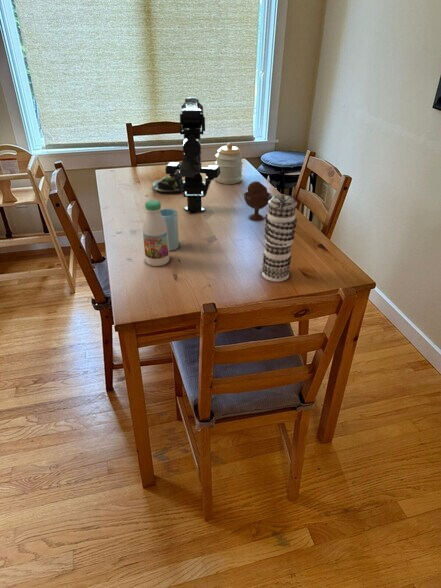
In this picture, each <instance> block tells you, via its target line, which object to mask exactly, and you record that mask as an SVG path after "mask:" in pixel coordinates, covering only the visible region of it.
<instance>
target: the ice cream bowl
mask: <svg viewBox="0 0 441 588" xmlns="http://www.w3.org/2000/svg"><path fill="white" fill-rule="evenodd" d="M272 197H273V196H272V193H270V192H268V188H267V187H266V186H265V185H264V184H262V183H261V182H260V181H259V180H258V181H256V180H255V181H251V182H250V183H249V184H248V186H247V188H246V191H245V192H244V193H243V199H244V201H245V204H246V205H247V206H248V207H249V208H251V209H253V210H254V212H253V213H252V214H250V215H249V216H248V217H249V219H250V220H252V221H255V222H258V221H262V220H264V217H263V215H262V214H260V210H262V209H264V208H265V207H266V206H267V205H269V203H268V201H269V200H270V199H272Z"/></svg>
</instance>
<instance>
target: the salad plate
mask: <svg viewBox="0 0 441 588" xmlns="http://www.w3.org/2000/svg"><path fill="white" fill-rule="evenodd" d="M183 182H185V178H182V186H183ZM150 190H152V191H154V192H156V193H157V194H161V195H178V194H179V195H180V194H184V192H183V189H182V193H181V192H180V190H179V188H178V185H177V183H176V181H175V179H174V178H173V177H171V176H168V175H166V176H163V177H161V179H157V180H154V181H153V182H152V187H151V189H150ZM185 192H186V191H185Z"/></svg>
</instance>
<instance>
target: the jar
mask: <svg viewBox="0 0 441 588" xmlns="http://www.w3.org/2000/svg"><path fill="white" fill-rule="evenodd" d="M215 158H216V160H215V166H219V167H220V174H219V176H218V177H217V178H215V180H216V182H218V183H220V184H224V185H235V184H238V183H240V182H242V179H243V160H242V159H243V158H244V155H243V154H242V149H240V148H239V147H238V146H233V144H232V143H231V142H228V143H227V144H226V145H223V146H221V147H220V148H218V149H217V153H216V154H215Z"/></svg>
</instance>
